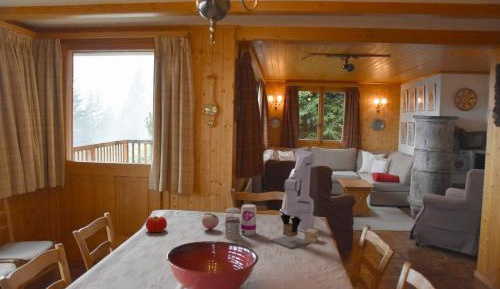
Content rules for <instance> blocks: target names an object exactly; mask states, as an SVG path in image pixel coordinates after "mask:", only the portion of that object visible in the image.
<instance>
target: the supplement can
mask: <svg viewBox="0 0 500 289" xmlns="http://www.w3.org/2000/svg"><path fill="white" fill-rule="evenodd" d="M240 210H241V212H240V234H241V236H242V235H243V236H249V237H251V236H255V234H257V212H258V211H257V210H258V208H257V207H256V205H255V204H251V203H250V204H249V203H245V204H243V205H242V206H241V208H240Z"/></svg>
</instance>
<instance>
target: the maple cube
mask: <svg viewBox="0 0 500 289" xmlns="http://www.w3.org/2000/svg"><path fill="white" fill-rule="evenodd" d="M318 232H319V231H318V229H314V230H313V229H307V230H306V231H305V232H304V240H307V241H310V243H316V242H317V241H318V237H319V233H318Z"/></svg>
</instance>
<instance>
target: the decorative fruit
mask: <svg viewBox="0 0 500 289" xmlns="http://www.w3.org/2000/svg"><path fill="white" fill-rule="evenodd" d="M201 223H202V224H201V225H202V226H203V227H204V228H205V229H207V230H209V231H211V230H213V229H215V228H216V227H217V226H218V225H219V223H220V218H219V217H218V216H217V214H215V213H212V212H211V211H210V212H204V213H203V217H202V218H201Z"/></svg>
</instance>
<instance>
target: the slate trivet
mask: <svg viewBox="0 0 500 289" xmlns="http://www.w3.org/2000/svg"><path fill="white" fill-rule="evenodd" d="M269 242H270V243H274V244H276V245H278V246H282V247H284V248H287V249H289V250H293V249H295V248H299V247H303V246H307V245H310V244H311V242H310V241H307V240H305V238H304V239H303V238H301V237H298V236H293V237H289V236H286V235H283V236H279V237H276V238H271V239H270V240H269Z"/></svg>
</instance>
